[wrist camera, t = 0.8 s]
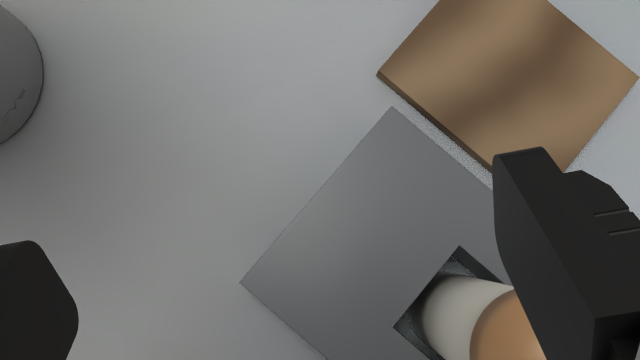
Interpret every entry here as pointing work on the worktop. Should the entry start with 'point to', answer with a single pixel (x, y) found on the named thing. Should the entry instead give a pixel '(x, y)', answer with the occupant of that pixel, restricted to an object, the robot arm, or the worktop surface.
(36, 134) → the worktop surface
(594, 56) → the pad
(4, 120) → the robot arm
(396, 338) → the grey base plate
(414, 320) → the plug
